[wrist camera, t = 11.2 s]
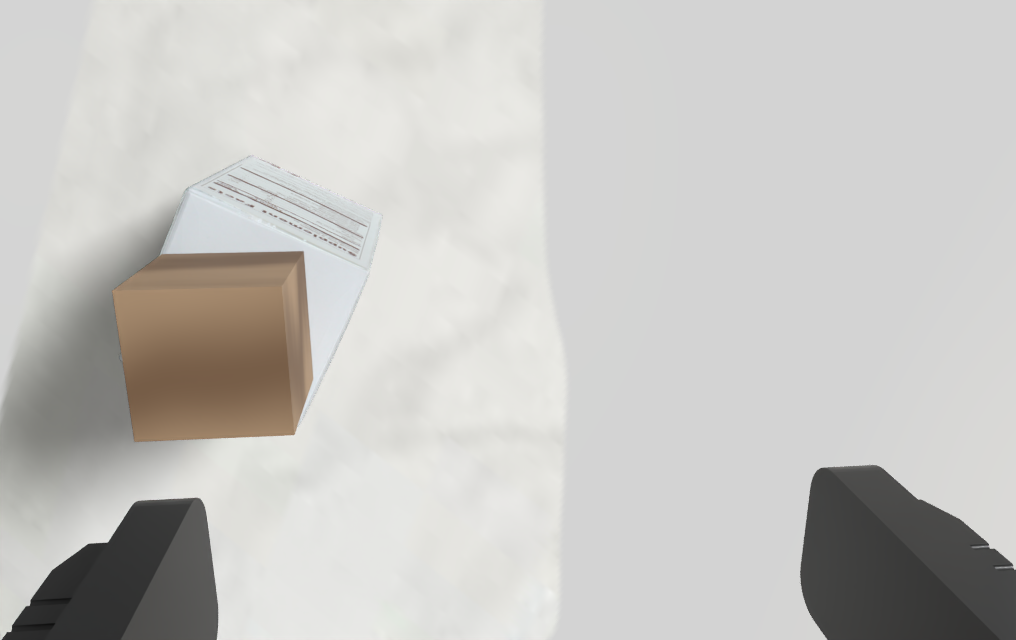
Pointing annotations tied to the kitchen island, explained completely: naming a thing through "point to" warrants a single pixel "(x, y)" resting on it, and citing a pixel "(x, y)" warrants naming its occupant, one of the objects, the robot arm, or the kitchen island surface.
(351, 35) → the kitchen island surface
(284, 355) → the walnut cube
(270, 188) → the supplement box
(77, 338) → the kitchen island surface
